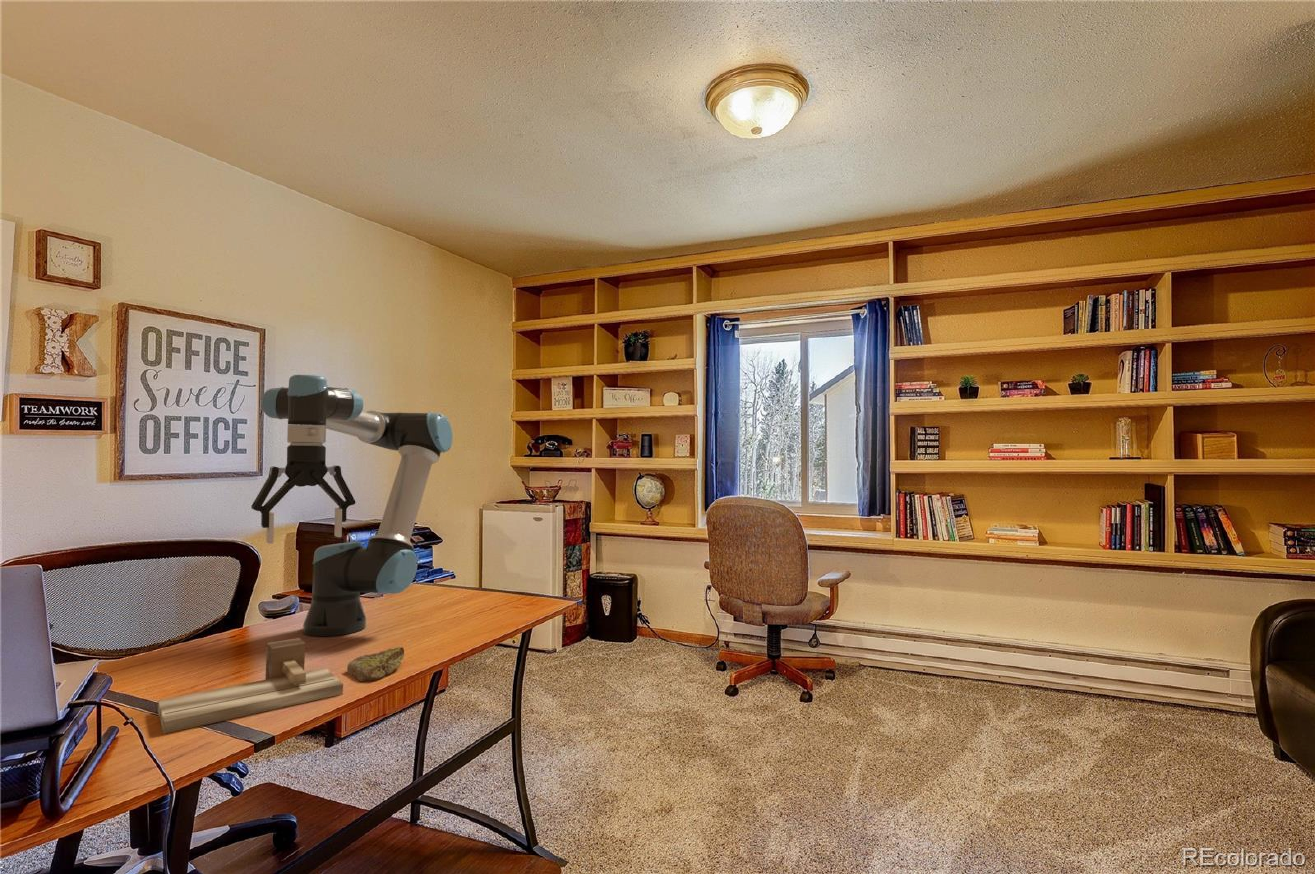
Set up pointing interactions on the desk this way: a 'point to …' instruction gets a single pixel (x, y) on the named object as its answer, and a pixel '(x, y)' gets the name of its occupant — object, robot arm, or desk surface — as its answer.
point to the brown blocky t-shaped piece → (286, 660)
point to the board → (244, 700)
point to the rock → (376, 664)
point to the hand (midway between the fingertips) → (305, 539)
